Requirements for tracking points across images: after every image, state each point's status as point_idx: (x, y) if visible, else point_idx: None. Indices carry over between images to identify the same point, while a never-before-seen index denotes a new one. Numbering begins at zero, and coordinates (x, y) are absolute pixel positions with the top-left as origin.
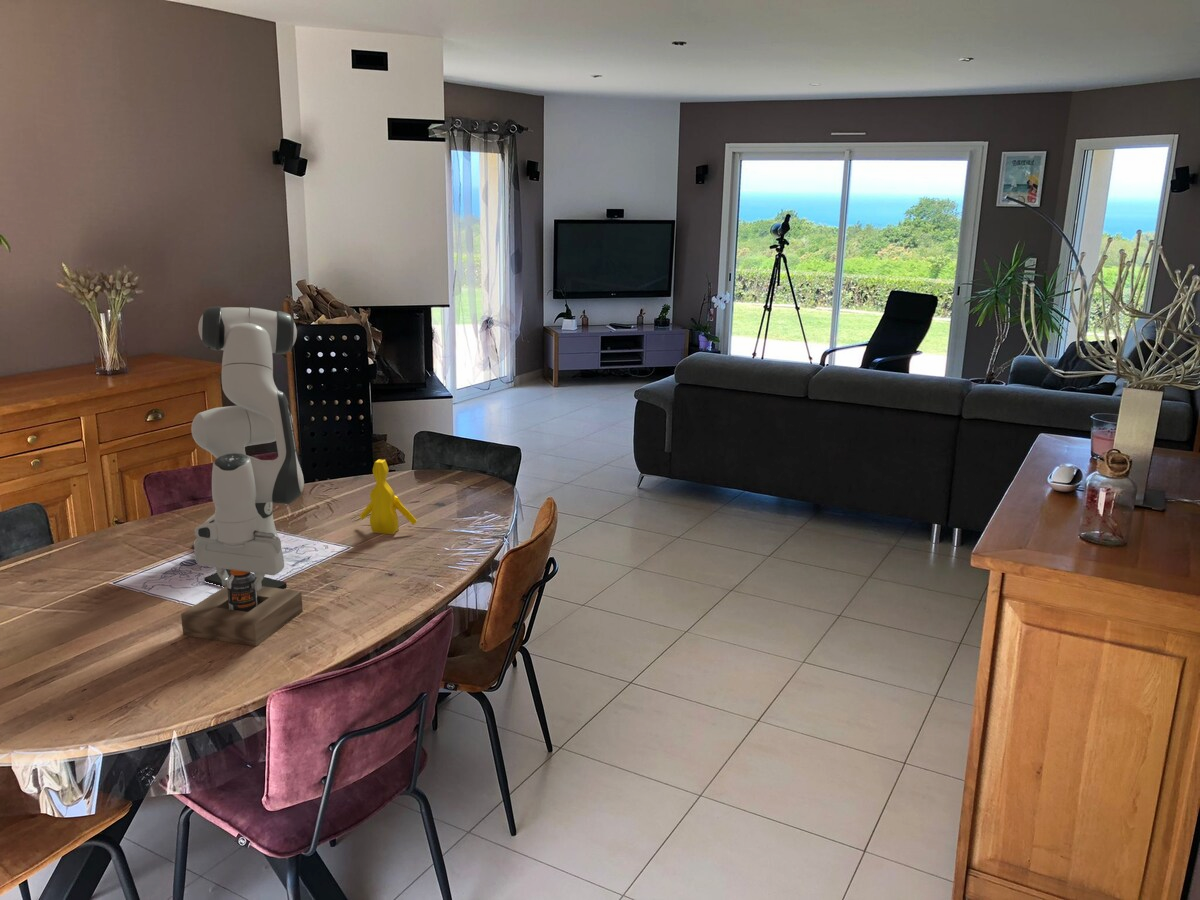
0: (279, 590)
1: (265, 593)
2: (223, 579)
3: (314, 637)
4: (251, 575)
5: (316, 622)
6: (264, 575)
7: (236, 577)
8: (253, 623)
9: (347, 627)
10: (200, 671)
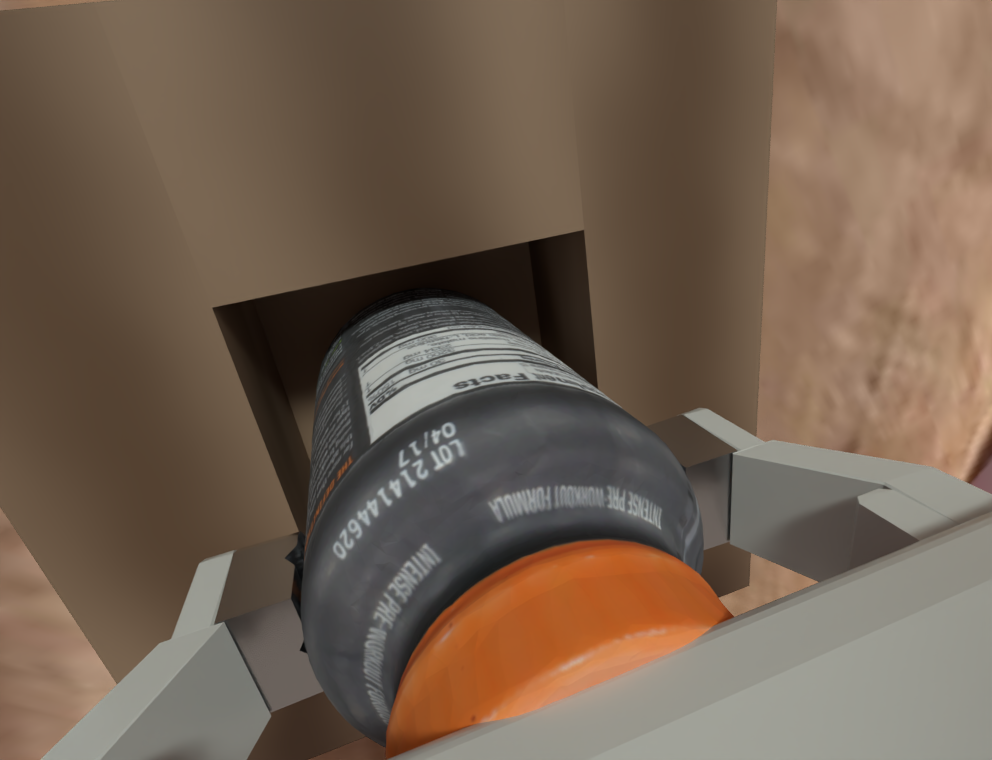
0: (564, 20)
1: (485, 168)
2: (264, 717)
3: (857, 297)
4: (678, 531)
5: (801, 134)
6: (901, 473)
7: None
8: (734, 581)
9: (967, 110)
10: None
